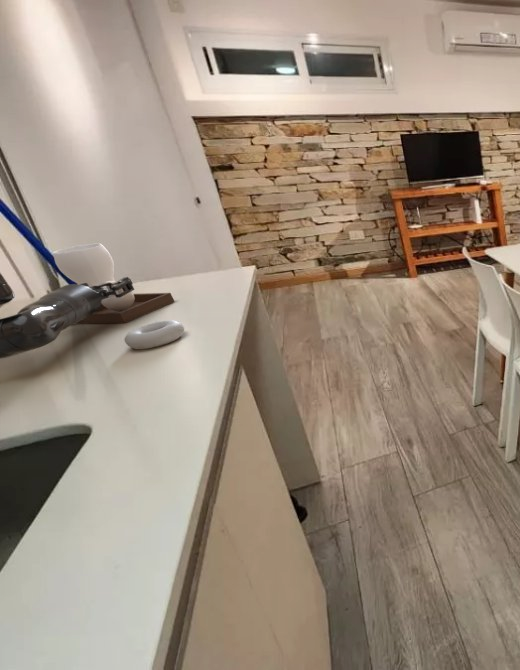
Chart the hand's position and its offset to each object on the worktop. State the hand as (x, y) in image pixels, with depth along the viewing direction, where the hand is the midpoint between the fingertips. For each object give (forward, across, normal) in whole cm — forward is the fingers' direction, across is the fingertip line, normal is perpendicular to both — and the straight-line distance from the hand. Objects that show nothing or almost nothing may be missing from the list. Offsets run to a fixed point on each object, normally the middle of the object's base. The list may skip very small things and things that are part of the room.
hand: (108, 283), depth 119 cm
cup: (+15, +11, +8) cm, 20 cm away
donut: (-27, -18, +8) cm, 33 cm away
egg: (0, 0, +8) cm, 8 cm away
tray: (0, 0, +8) cm, 8 cm away
